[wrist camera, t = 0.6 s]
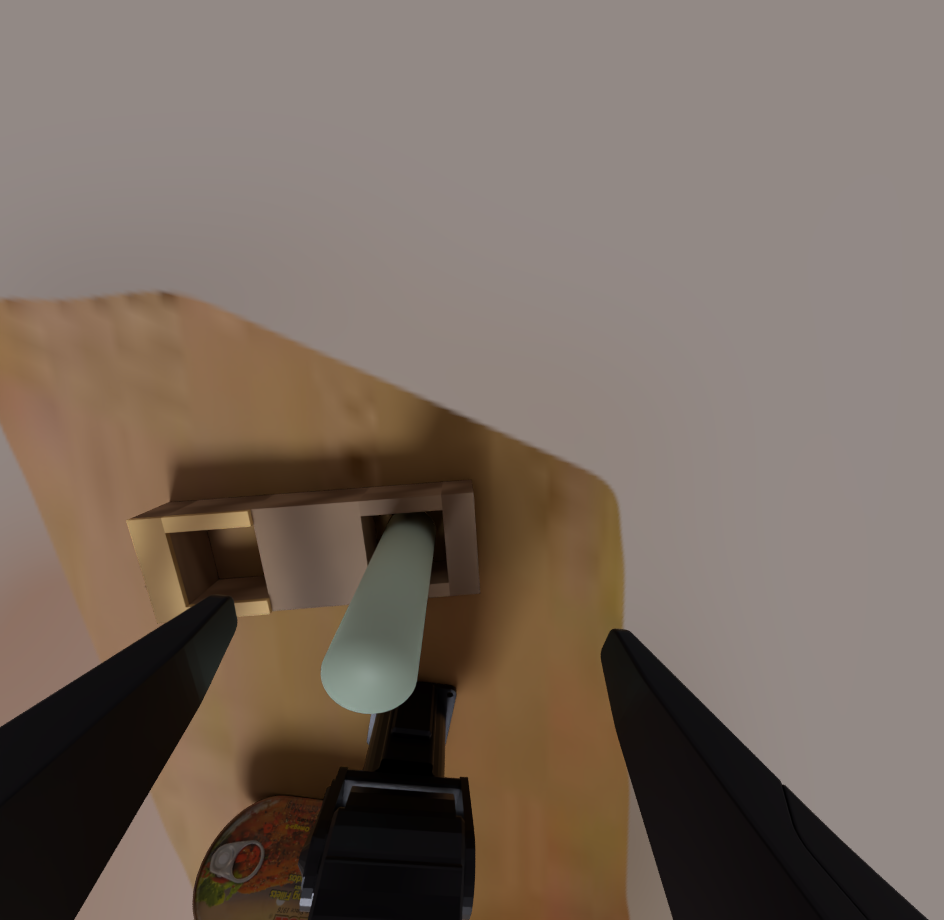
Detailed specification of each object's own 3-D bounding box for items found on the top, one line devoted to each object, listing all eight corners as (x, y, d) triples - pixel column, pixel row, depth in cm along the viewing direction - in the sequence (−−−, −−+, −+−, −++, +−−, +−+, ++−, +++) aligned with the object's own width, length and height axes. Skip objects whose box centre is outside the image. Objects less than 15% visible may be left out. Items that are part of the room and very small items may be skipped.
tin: (411, 809, 32) (396, 957, 24) (404, 834, 33) (387, 987, 24) (239, 787, 31) (160, 937, 22) (235, 814, 31) (157, 969, 23)
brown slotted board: (471, 479, 25) (473, 494, 22) (477, 570, 27) (480, 596, 24) (168, 502, 25) (125, 520, 21) (193, 593, 26) (157, 623, 23)
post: (431, 556, 26) (409, 718, 14) (383, 549, 26) (316, 708, 14) (439, 512, 26) (424, 640, 13) (390, 504, 25) (326, 627, 13)
